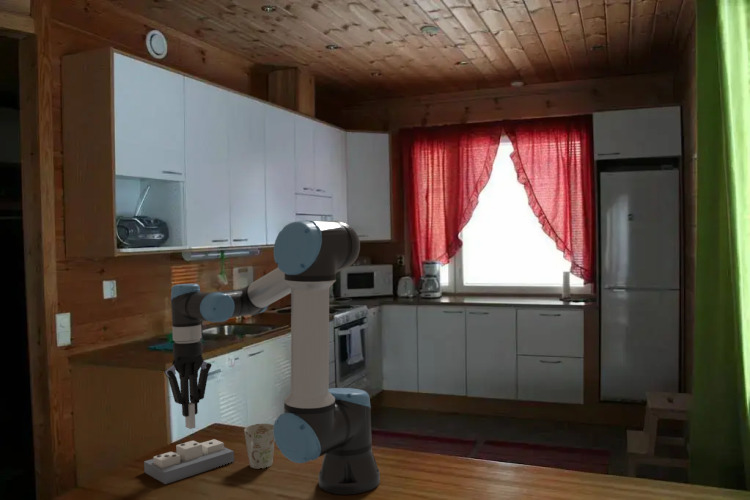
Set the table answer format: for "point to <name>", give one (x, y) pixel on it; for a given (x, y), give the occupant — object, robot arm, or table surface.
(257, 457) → the mug
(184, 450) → the white die
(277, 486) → the table surface
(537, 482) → the table surface
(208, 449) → the white block
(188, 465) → the board
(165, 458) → the white block with dots
